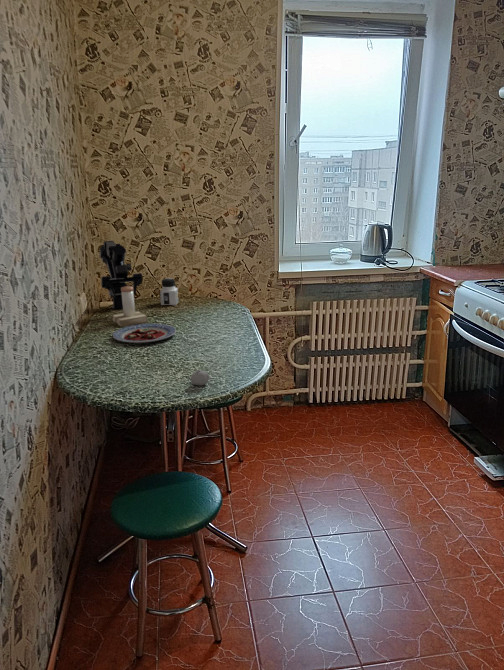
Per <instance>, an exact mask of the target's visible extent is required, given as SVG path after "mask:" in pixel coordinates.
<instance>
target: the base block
mask: <svg viewBox="0 0 504 670" xmlns="http://www.w3.org/2000/svg"><path fill="white" fill-rule="evenodd" d="M112 322H113V323H115V324H116V325H118V326H120V327H121V328H124V327H128V326H133V325H140V324H148V315H146V314H144V313H142V312H140V311H139V310H135V316H132V317H124V313H123V312H122V313H121V312H120V313H116V314H112Z"/></svg>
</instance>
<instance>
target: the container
mask: <svg viewBox="0 0 504 670" xmlns="http://www.w3.org/2000/svg"><path fill="white" fill-rule="evenodd" d="M161 287H162V289H160V291H159V292H160V293H159V294H160V295H159V296H160V305H173V306H177V305H178V304H179V293H178V292H179V291H178V287H176V281H175V278H170V277H169V278H168V277H167V278H163V279H162V280H161Z"/></svg>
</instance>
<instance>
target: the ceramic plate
mask: <svg viewBox="0 0 504 670" xmlns="http://www.w3.org/2000/svg"><path fill="white" fill-rule="evenodd" d="M176 332H177V329H176V328H175V327H174V326H173V325H170V324H169V325H168V324H164V323H142V324H136V325H130V326H125V327H121V328H119V329H117V330H116V331H114V332H113V333H112V337H113V339H114V340H117V341H119V342H123V343H132V344H133V343H134V344H147V343H153V342H157V341H161V340H165V339H168V338H171V337H172V336H173V335H175V334H176Z"/></svg>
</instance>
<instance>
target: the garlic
mask: <svg viewBox="0 0 504 670" xmlns="http://www.w3.org/2000/svg"><path fill="white" fill-rule="evenodd" d="M209 380H210V375H209V373H208V372H207V371H205V370H200V369H197V370H195V371H193V372H192V374H191V376H190V382H191V384H192V385H194V386H204V385H206V384H207V383H208V382H209Z"/></svg>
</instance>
